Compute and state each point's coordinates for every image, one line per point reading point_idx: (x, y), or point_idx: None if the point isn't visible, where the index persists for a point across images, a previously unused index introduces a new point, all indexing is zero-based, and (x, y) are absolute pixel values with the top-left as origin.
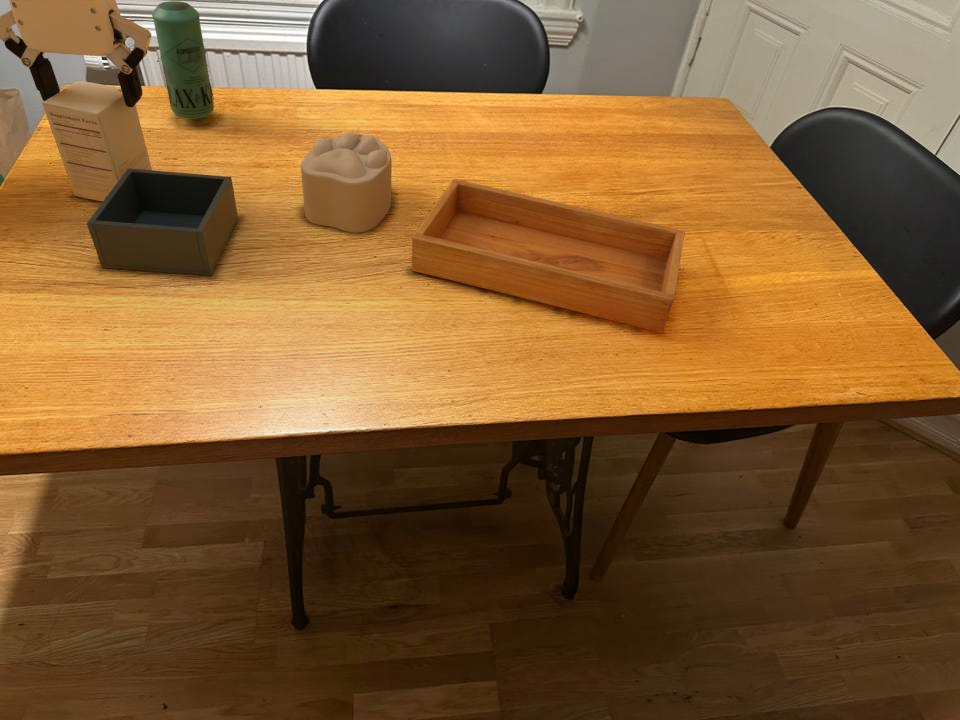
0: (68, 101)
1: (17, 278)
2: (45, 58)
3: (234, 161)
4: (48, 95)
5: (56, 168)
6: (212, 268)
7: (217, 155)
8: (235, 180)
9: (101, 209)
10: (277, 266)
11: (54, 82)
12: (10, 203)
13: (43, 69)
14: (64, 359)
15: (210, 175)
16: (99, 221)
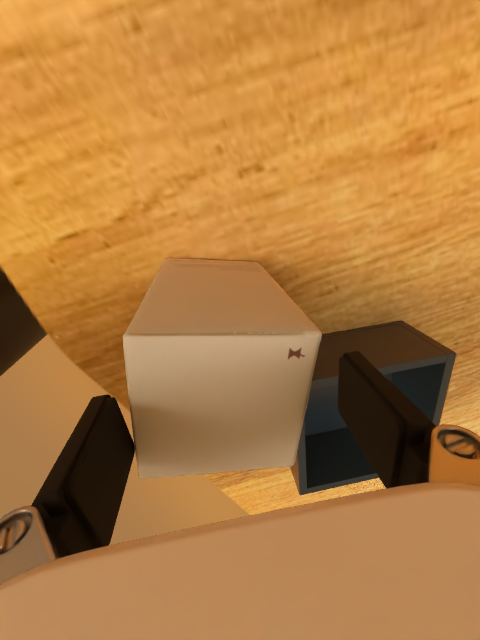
0: (199, 456)
1: (213, 474)
2: (50, 499)
3: (370, 140)
4: (130, 457)
5: (75, 273)
6: None
7: (332, 121)
8: (383, 216)
9: (304, 473)
10: (450, 387)
11: (106, 431)
12: (97, 381)
13: (100, 518)
14: None
15: (424, 360)
16: (313, 489)
